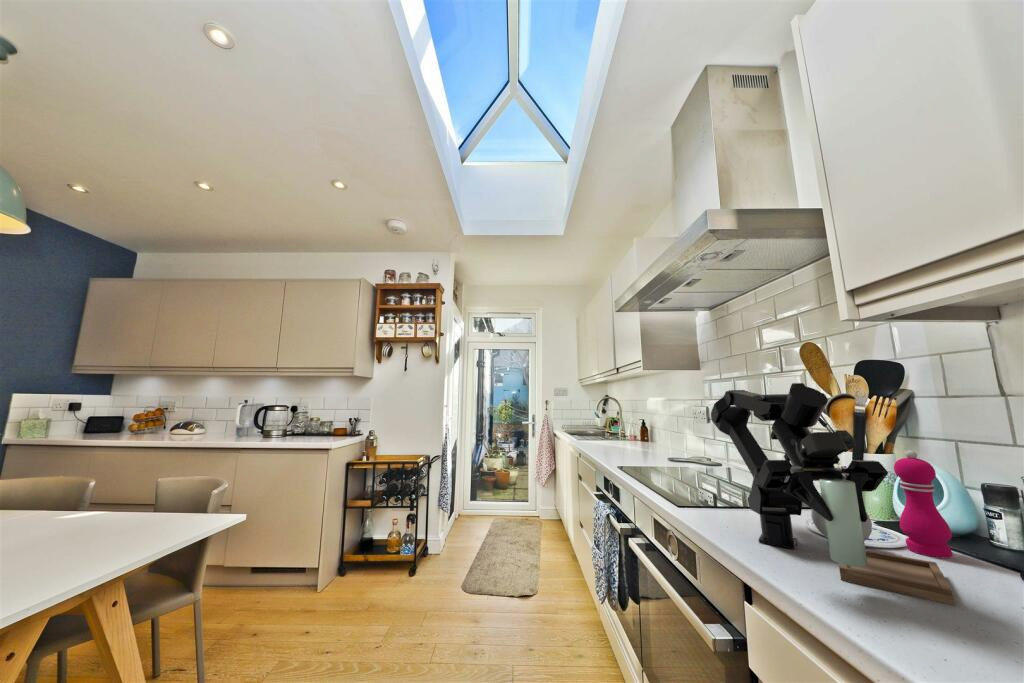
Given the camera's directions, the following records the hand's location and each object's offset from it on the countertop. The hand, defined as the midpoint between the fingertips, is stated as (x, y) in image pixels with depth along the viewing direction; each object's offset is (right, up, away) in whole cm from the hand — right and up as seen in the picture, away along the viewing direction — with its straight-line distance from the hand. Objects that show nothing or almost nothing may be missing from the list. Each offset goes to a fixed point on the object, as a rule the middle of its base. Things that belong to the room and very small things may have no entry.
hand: (848, 520), depth 61 cm
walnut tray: (+11, -12, +5) cm, 17 cm away
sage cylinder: (0, -7, 0) cm, 7 cm away
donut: (+17, -15, +20) cm, 30 cm away
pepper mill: (+30, -14, +15) cm, 36 cm away
